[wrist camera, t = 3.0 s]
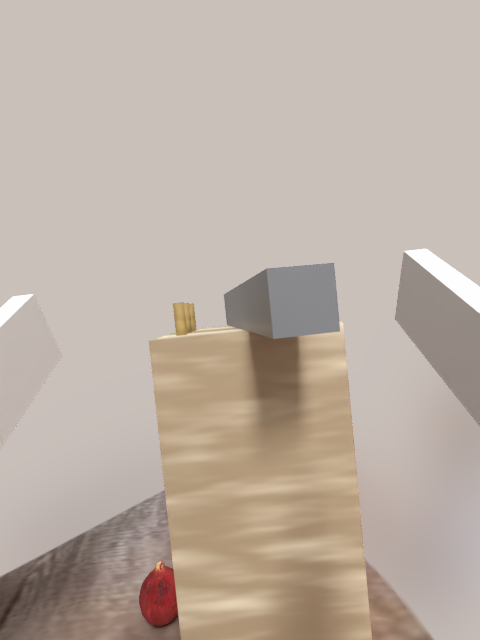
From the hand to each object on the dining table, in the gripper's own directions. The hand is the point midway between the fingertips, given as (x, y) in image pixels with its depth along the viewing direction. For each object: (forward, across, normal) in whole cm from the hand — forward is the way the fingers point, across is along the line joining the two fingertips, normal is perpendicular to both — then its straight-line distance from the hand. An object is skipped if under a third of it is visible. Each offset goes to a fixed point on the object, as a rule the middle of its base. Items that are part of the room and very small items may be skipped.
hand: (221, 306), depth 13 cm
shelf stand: (+1, 0, +46) cm, 46 cm away
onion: (+8, +14, +51) cm, 53 cm away
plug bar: (+17, -2, +12) cm, 21 cm away
